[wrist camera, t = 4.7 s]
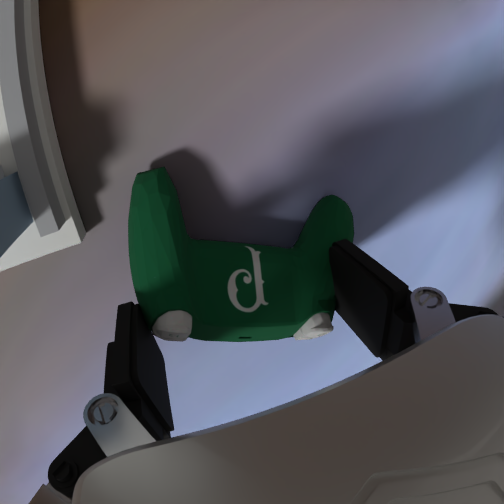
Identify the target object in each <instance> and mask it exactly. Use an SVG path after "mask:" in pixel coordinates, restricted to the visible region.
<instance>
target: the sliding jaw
mask: <svg viewBox="0 0 504 504" xmlns="http://www.w3.org/2000/svg"><path fill="white" fill-rule="evenodd" d="M32 223H33V218H32V215H31V213H30V210H29V207H28V204H27V201H26V198H25V195H24V192H23V189H22V185H21V182H20V179H19V175H18V172H15V173H13V174H11V175H8V176H6V177H5V175H4V172H3V168H2V165H0V258H1V256H2V255H3V254H4V253H5V252H6V251H7V250H8V248H9V247H10V246H11V245H12V244H13V243H14V242H15V241H16V239H17V238H18V237H19V236H20V235H21V234H22V233H23V232H24V231H25V230H26V229H27V228H28V227H29V226H30V225H31V224H32Z"/></svg>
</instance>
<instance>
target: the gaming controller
mask: <svg viewBox="0 0 504 504" xmlns="http://www.w3.org/2000/svg"><path fill="white" fill-rule="evenodd" d="M353 237H354V227H353V215H352V212H351V210H350V208H349V206H348V205H347V203H346V202H344V201H343V200H342V199H341V198H339V197H337V196H335V195H329V196H326V197H324V198H322V199H321V200H320V201H319V202H318V204H317V205H316V206H315V208H314V209H313V210H312V212H311V213H310V216H309V218H308V220H307V222H306V224H305V226H304V228H303V230H302V232H301V234H300V236H299V238H298V240H297V242H296V244H295V245H294V246H293V247H292V248H288V249H287V248H281V247H273V246H264V245H256V244H247V243H235V242H223V241H210V240H195V239H191V238H190V237H189V235H188V234H187V232H186V228H185V224H184V220H183V216H182V211H181V207H180V203H179V199H178V195H177V191H176V189H175V187H174V185H173V183H172V181H171V179H170V177H169V175H168V173H167V171H166V169H165V167H161V168H157V169H153V170H149V171H145V172H140V173H138V174H137V175H136V178H135V181H134V184H133V187H132V194H131V202H130V210H129V219H128V242H129V259H130V268H131V274H132V280H133V285H134V289H135V293H136V297H137V300H138V303H139V305H140V309H141V311H142V314H143V317H144V319H145V322H146V324H147V326H148V328H149V329H150V330H151V331H152V334H153V335H155V336H157V337H159V338H161V339H163V340H168V341H185V340H186V339H187V338H188V337H189V338H193V339H198V340H204V341H228V342H246V341H266V340H279V339H283V338H289V337H294V338H295V340H305V339H313V338H318V337H320V336H323V335H325V334H327V333H329V332H331V331H333V326H332V324H331V322H332V319H333V315H334V311H335V306H336V299H335V291H334V284H333V278H332V271H331V266H330V262H329V248H330V247H332V243H333V242H336V241H340V240H343V239H347V240H349V241H350V242H352V243H353Z"/></svg>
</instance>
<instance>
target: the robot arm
mask: <svg viewBox="0 0 504 504" xmlns="http://www.w3.org/2000/svg"><path fill="white" fill-rule="evenodd" d="M329 262H330V266H331V271H332V278H333V284H334V291H335V299H336V306H335V310H336V312H337V313H338V314H339V315H340V316H341V317H342V319H343V320H344V321H345V322H346V323H347V324H348V325H349V327H350V328H351V329H352V330H353V331H354V332H355V334H356V335H357V336H358V337H359V338H360V339H361V341H362V342H363V343H364V344H365V345H366V346H367V348H368V349H369V350H370V351H371V352H372V353H373V355H374V356H375V357H380V358H381V359H382V360H383V361H382V362H380V363H378V364H376V365H374V366H372V367H370V368H367V369H365V370H363V371H361V372H359V373H357V374H355V375H353V376H350V377H348V378H346V379H344V380H342V381H339V382H337V383H335V384H332V385H330V386H328V387H325V388H323V389H321V390H318V391H316V392H313V393H311V394H308V395H306V396H303V397H301V398H298V399H296V400H293V401H290V402H288V403H285V404H282V405H280V406H277V407H274V408H271V409H268V410H266V411H263V412H260V413H257V414H254V415H251V416H248V417H244V418H241V419H238V420H235V421H232V422H228V423H225V424H221V425H218V426H214V427H211V428H207V429H203V430H200V431H196V432H192V433H189V434H185V435H181V436H177V437H173V438H171V436H170V431H174V425H173V419H172V413H171V406H170V400H169V393H168V386H167V378H166V371H165V362H164V358H163V355H162V353H161V351H160V349H159V347H158V344H157V342H156V340H155V338H154V336H153V334H152V332H151V330H150V329H149V328H148V326H147V324H146V322H145V319H144V317H143V314H142V311H141V309H140V305H139V304H135V305H134V303H133V302H128V303H125V304H121V305H118V311H117V320H116V330H115V341H114V342H111V343H109V344H108V346H107V356H106V367H105V381H104V394H100V395H98V396H96V397H94V398H93V399H91V400H90V401H89V402H88V404H87V405H86V407H85V409H84V413H83V418H84V421H85V423H86V425H87V426H86V427H85V428H84V429H83V430H82V431H81V432H80V433H79V434H78V435H77V436H76V437H75V438H74V439H73V440H72V442H71V443H70V444H69V445H68V446H67V447H66V448H65V449H64V450H63V451H62V452H61V453H60V454H59V455H58V456H57V457H56V458H55V459H54V460H53V462H52V463H51V465H50V467H49V470H48V479H49V483H48V484H47V486H46V485H44V484H43V485H42V486H41V487H40V489H39V490H38V492H37V493H36V494H35V496H34V497H33V498H32V500H31V501H30V503H29V504H504V317H500V316H498V314H497V313H496V312H494V311H493V310H491V309H489V308H484V307H476V306H467V305H459V304H450V303H448V301H447V298H446V296H445V295H444V294H443V293H442V292H441V291H440V290H438V289H436V288H432V287H420V288H417V289H415V290H414V291H413V292H411V291H410V290H409V289H408V287H409V286H408V285H406V284H405V283H404V282H403V281H401V280H400V279H399V278H398V277H396V276H395V275H394V274H392V273H391V272H390V271H389V270H387V269H386V268H385V267H383V266H382V265H381V264H379V263H378V262H377V261H376V260H374V259H373V258H372V257H370V256H369V255H368V254H366V253H365V252H364V251H362V250H361V249H360V248H358V247H357V246H356V245H354V244H353V243H352V242H350V241H349V240H347V239H343V240H340V241H336V242H333V243H332V247H330V248H329Z"/></svg>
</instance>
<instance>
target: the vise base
mask: <svg viewBox="0 0 504 504" xmlns="http://www.w3.org/2000/svg"><path fill="white" fill-rule="evenodd" d="M0 165H2V168H3V172H4V175H5V177H6V176H8V175H11V174H13V173H15V172H18V175H19V179H20V182H21V185H22V189H23V192H24V195H25V198H26V201H27V204H28V207H29V210H30V213H31V215H32V218H33V223H32V224H31V225H30V226H29V227H28V228H27V229H26V230H25V231H24V232H23V233H22V234H21V235H20V236H19V237H18V238H17V239H16V241H15V242H14V243H13V244H12V245H11V246H10V247H9V248H8V250H7V251H6V252H5V253H4V254H3V255H2V256H1V258H0V271H3V270H5V269H8V268H11V267H13V266H16V265H19V264H22V263H24V262H27V261H30V260H33V259H35V258H38V257H41V256H44V255H47V254H50V253H52V252H55V251H58V250H61V249H64V248H67V247H70V246H73V245H76V244H79V243H82V241H83V239H84V237H85V235H86V231H85V228H84V225H83V223H82V220H81V217H80V214H79V211H78V208H77V205H76V202H75V199H74V196H73V193H72V189H71V186H70V183H69V180H68V176H67V173H66V169H65V166H64V162H63V158H62V155H61V151H60V147H59V143H58V139H57V134H56V130H55V126H54V121H53V116H52V112H51V107H50V101H49V96H48V90H47V84H46V78H45V71H44V64H43V56H42V47H41V37H40V25H39V6H38V0H0Z"/></svg>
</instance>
